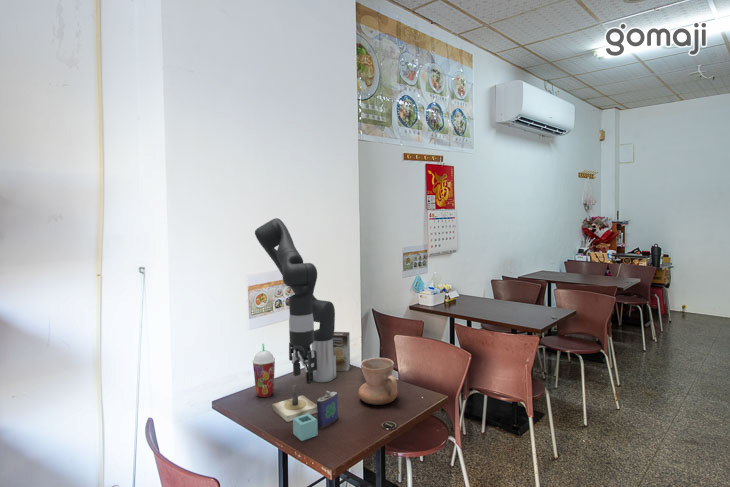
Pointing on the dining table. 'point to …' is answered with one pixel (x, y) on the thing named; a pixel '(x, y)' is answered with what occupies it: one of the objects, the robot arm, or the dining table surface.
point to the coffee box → (342, 350)
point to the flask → (327, 409)
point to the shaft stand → (294, 406)
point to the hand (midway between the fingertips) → (303, 379)
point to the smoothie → (264, 373)
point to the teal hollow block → (305, 427)
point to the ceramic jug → (378, 381)
